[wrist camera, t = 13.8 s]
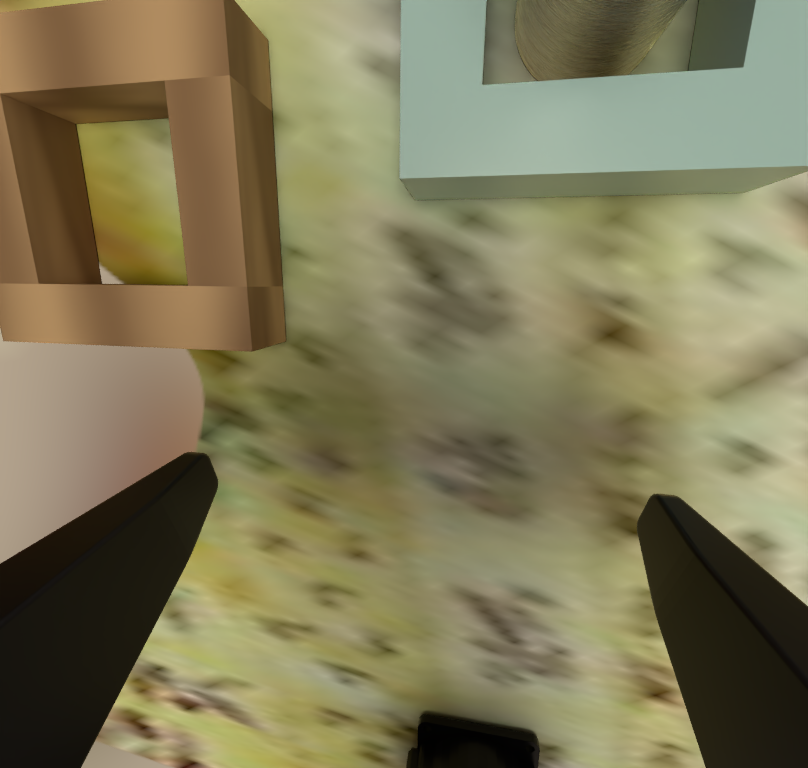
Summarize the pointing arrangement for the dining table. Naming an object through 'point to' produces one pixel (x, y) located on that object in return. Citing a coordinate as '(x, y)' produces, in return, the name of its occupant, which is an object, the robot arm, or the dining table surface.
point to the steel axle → (588, 35)
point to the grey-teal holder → (605, 112)
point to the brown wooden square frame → (193, 161)
